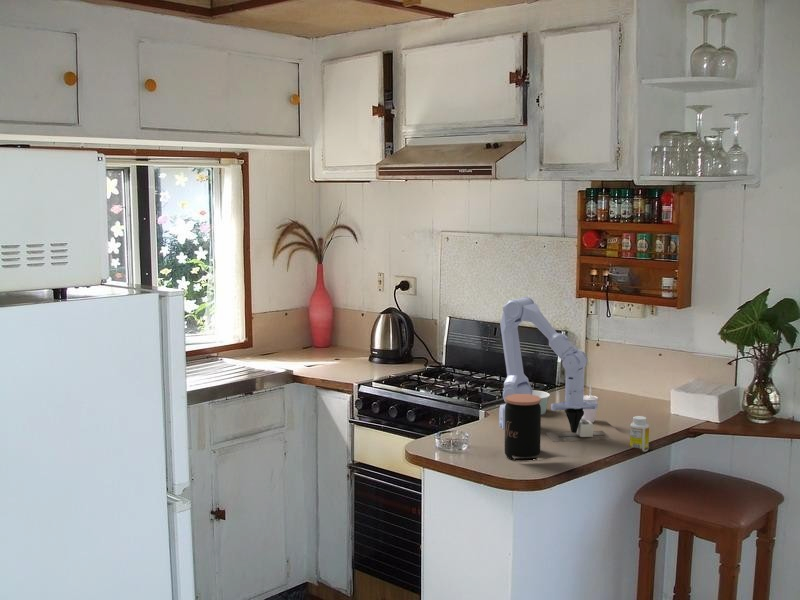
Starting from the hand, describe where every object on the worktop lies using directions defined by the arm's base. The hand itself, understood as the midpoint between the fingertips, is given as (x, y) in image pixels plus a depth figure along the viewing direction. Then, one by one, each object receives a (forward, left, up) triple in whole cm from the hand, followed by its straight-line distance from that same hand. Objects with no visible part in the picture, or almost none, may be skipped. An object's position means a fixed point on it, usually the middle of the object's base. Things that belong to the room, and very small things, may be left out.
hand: (573, 431), depth 291 cm
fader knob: (+3, 0, -1) cm, 4 cm away
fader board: (+2, 0, -3) cm, 3 cm away
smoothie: (+10, +17, -3) cm, 20 cm away
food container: (-4, +37, -3) cm, 37 cm away
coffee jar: (-20, -14, -3) cm, 25 cm away
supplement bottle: (+17, -12, -3) cm, 21 cm away
